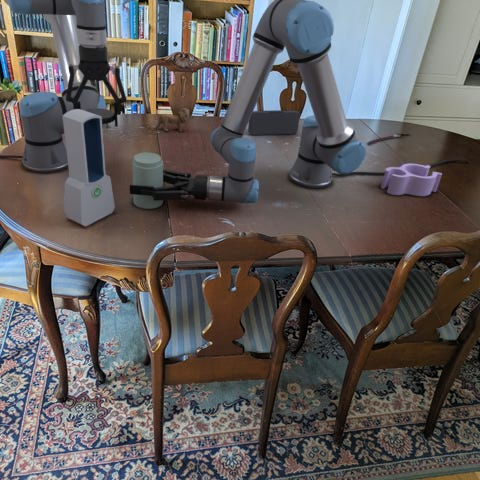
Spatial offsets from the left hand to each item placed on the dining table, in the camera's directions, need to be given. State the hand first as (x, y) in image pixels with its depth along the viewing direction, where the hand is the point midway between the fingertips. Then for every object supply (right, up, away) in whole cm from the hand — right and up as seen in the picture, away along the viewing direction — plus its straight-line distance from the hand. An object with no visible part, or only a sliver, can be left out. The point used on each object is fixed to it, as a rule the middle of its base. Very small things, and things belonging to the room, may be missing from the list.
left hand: (98, 125), depth 139 cm
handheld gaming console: (+56, +12, +66) cm, 88 cm away
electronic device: (-1, -27, -5) cm, 28 cm away
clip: (+103, -16, +31) cm, 109 cm away
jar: (+14, -22, +5) cm, 27 cm away
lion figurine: (+14, +13, +59) cm, 62 cm away
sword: (+110, +12, +74) cm, 134 cm away
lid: (0, +3, -2) cm, 3 cm away
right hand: (+10, -17, +1) cm, 20 cm away
